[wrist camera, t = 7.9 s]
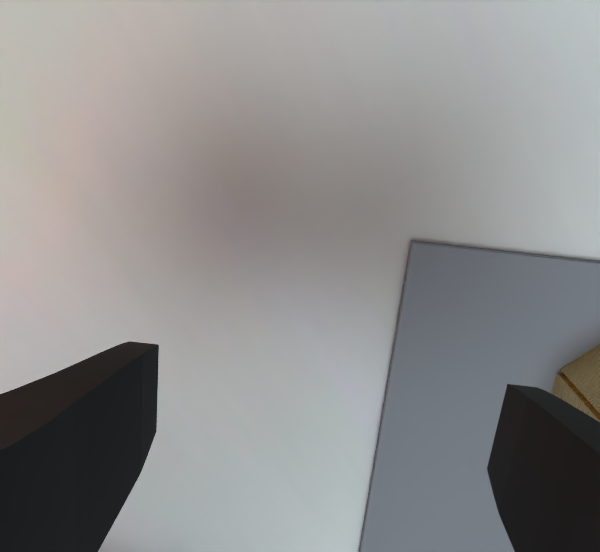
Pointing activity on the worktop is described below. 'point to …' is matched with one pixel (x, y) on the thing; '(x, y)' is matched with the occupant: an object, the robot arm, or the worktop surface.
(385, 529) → the mat
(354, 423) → the worktop surface
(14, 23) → the worktop surface
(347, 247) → the worktop surface
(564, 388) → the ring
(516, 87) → the worktop surface
